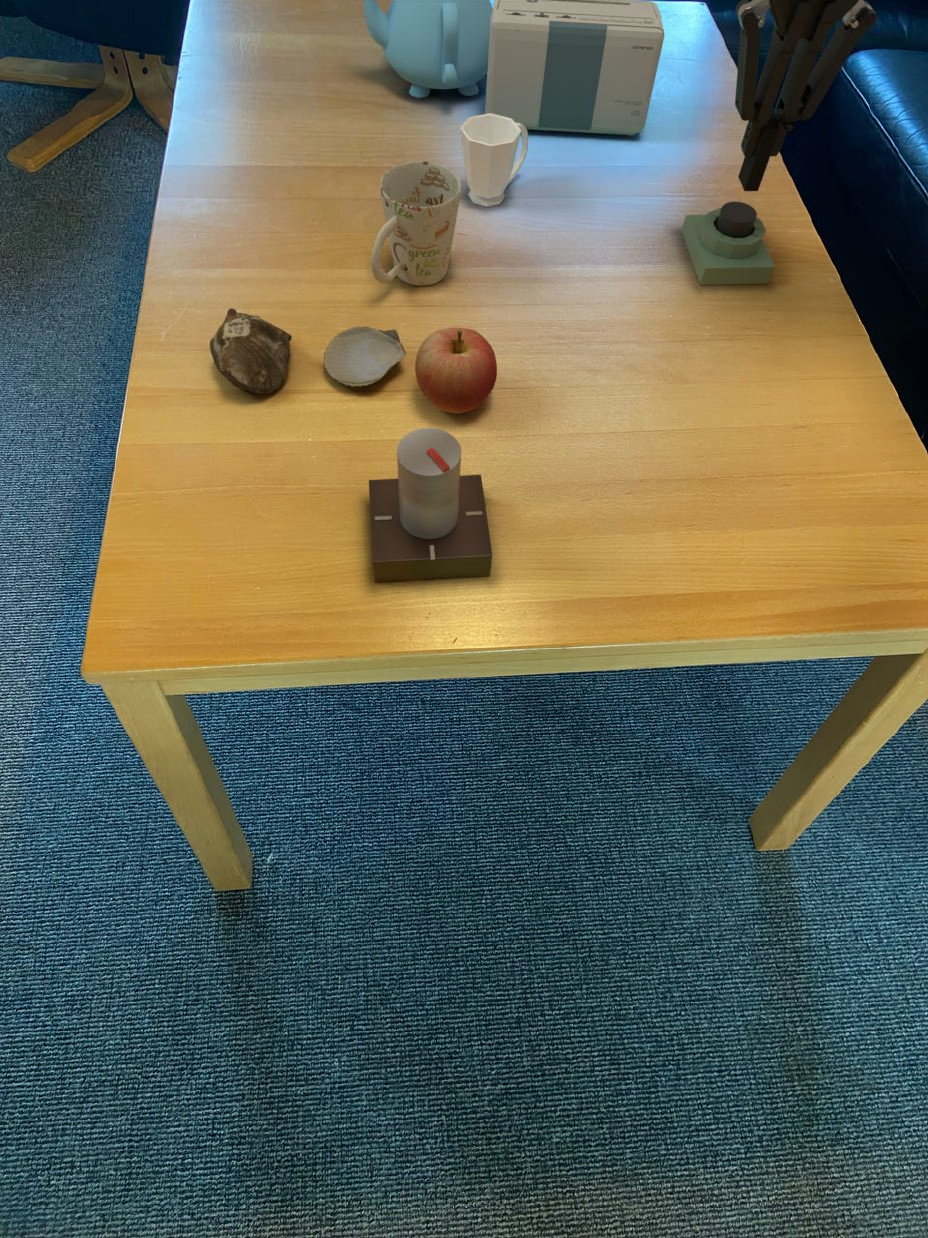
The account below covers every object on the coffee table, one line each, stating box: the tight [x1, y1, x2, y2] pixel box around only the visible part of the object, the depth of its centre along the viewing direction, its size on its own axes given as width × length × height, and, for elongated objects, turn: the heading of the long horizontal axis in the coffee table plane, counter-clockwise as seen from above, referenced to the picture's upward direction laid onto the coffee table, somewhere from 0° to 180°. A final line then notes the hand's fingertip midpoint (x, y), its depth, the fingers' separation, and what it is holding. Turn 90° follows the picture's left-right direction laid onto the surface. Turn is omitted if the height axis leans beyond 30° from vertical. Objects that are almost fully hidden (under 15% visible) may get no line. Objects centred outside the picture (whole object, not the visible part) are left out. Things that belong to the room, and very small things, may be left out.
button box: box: [680, 207, 776, 286], centre depth 95 cm, size 10×8×4 cm
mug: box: [370, 160, 462, 287], centre depth 88 cm, size 8×13×10 cm, turn 148°
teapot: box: [362, 0, 493, 99], centre depth 110 cm, size 16×20×14 cm
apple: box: [414, 326, 498, 414], centre depth 80 cm, size 8×8×8 cm
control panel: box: [368, 474, 493, 583], centre depth 72 cm, size 10×9×3 cm
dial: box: [396, 427, 462, 539], centre depth 68 cm, size 5×5×8 cm
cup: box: [459, 113, 529, 208], centre depth 99 cm, size 7×10×8 cm
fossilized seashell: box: [209, 308, 293, 394], centre depth 82 cm, size 8×7×10 cm
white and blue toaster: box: [484, 0, 665, 137], centre depth 103 cm, size 21×8×20 cm, turn 88°
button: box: [716, 201, 758, 238], centre depth 93 cm, size 4×4×2 cm
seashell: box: [323, 326, 407, 388], centre depth 84 cm, size 8×3×8 cm
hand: (748, 183), depth 90 cm, fingers closed
